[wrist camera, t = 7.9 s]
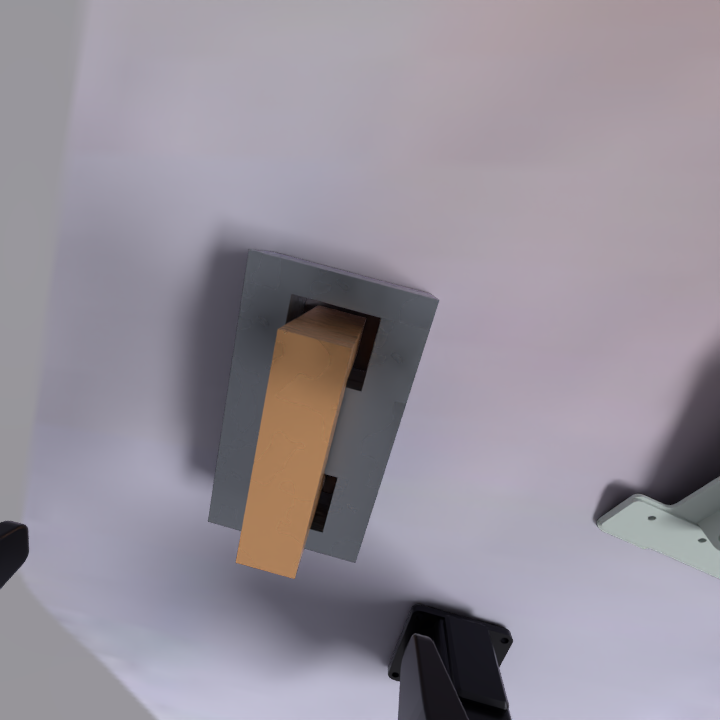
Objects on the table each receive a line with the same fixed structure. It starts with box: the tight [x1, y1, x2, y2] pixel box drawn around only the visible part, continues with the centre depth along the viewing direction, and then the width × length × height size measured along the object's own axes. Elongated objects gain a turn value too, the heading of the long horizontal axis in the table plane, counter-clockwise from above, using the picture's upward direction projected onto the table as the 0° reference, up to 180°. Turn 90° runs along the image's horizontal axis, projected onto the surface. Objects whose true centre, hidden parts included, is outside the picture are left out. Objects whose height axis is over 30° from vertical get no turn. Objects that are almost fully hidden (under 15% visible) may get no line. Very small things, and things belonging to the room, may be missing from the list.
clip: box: [236, 305, 366, 579], centre depth 16 cm, size 10×2×6 cm, turn 166°
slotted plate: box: [208, 249, 439, 563], centre depth 17 cm, size 14×8×3 cm, turn 166°
